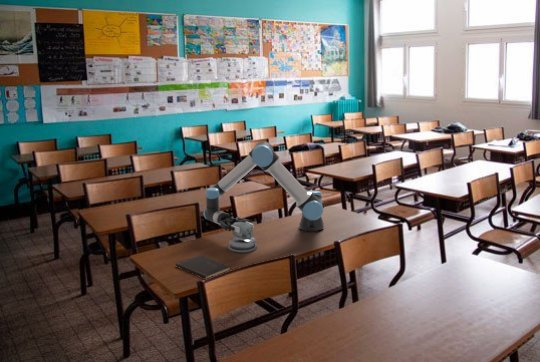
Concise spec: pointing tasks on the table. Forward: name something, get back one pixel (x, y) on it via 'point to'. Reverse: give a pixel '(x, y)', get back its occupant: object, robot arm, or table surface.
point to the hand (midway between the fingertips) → (246, 228)
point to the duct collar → (242, 245)
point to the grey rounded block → (243, 230)
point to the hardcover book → (203, 266)
